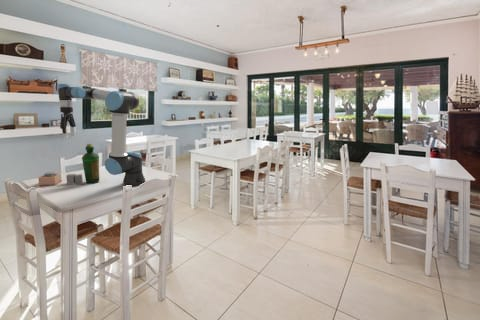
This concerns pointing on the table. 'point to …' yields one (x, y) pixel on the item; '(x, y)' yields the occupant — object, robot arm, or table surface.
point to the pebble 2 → (78, 179)
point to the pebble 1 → (49, 174)
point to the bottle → (91, 165)
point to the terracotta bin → (49, 180)
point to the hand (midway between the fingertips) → (69, 137)
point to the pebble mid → (70, 178)
